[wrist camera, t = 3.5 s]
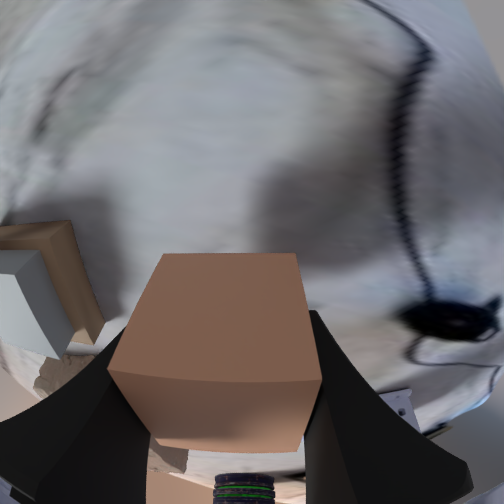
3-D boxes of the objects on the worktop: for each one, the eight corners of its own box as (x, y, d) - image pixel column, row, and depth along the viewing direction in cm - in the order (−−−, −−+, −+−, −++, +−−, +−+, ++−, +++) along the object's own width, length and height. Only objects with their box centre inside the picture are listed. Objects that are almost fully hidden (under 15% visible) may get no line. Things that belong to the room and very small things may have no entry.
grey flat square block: (39, 249, 11) (14, 274, 9) (75, 332, 13) (60, 359, 11) (-14, 250, 11) (-36, 270, 9) (19, 320, 13) (3, 342, 11)
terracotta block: (295, 252, 9) (322, 379, 5) (287, 344, 12) (296, 451, 7) (163, 253, 9) (107, 369, 5) (183, 342, 12) (160, 445, 7)
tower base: (75, 216, 12) (49, 238, 10) (108, 317, 16) (93, 345, 14) (2, 223, 13) (-21, 241, 10) (36, 308, 16) (20, 329, 14)
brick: (44, 350, 18) (23, 389, 14) (110, 351, 17) (89, 404, 13) (132, 436, 27) (125, 467, 22) (193, 441, 26) (189, 477, 21)
